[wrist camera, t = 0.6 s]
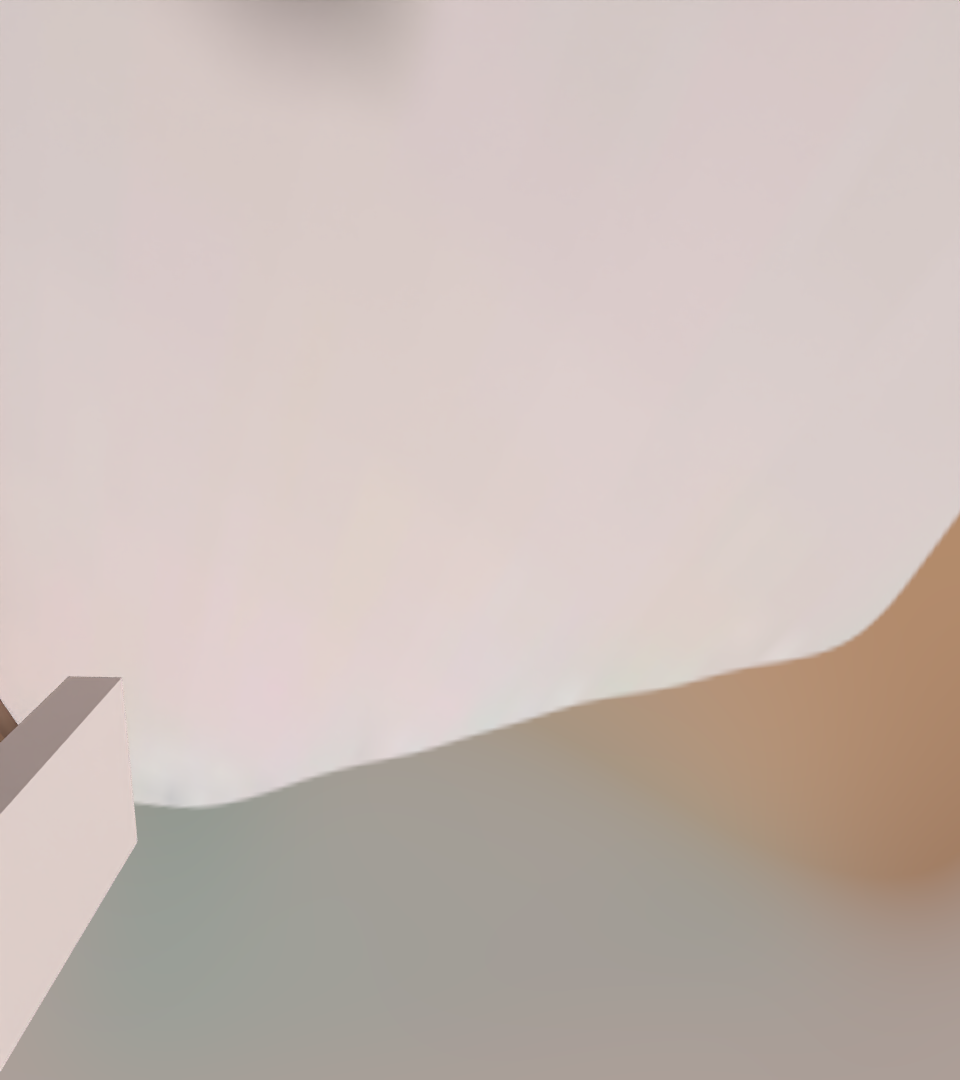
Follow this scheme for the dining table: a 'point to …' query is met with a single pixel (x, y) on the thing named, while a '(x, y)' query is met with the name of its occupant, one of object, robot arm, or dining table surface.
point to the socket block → (6, 722)
